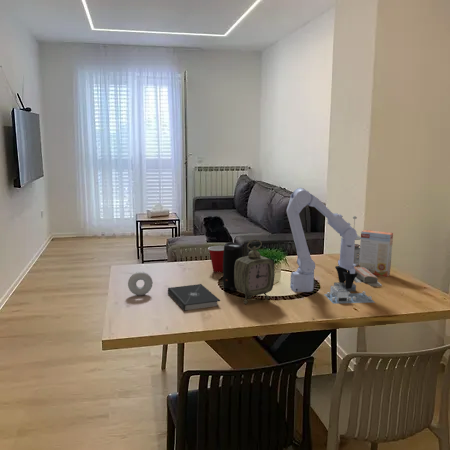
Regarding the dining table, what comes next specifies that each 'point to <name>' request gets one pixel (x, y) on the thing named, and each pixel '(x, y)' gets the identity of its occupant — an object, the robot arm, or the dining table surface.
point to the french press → (356, 248)
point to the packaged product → (366, 277)
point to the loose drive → (345, 286)
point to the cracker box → (376, 252)
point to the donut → (133, 281)
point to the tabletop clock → (254, 274)
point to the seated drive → (339, 293)
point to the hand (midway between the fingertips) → (345, 285)
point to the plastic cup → (217, 257)
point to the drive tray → (352, 298)
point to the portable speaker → (230, 263)
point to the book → (193, 297)
